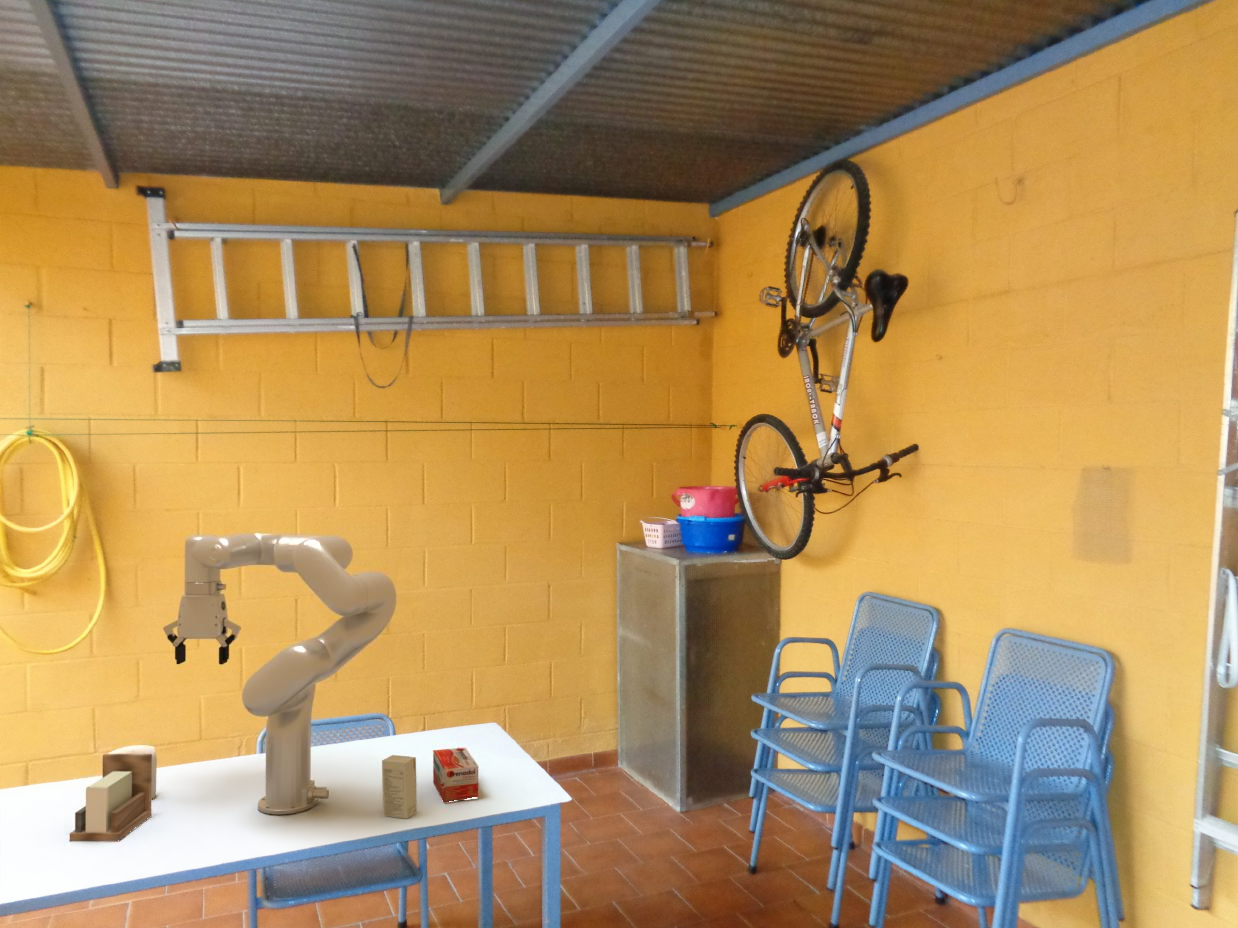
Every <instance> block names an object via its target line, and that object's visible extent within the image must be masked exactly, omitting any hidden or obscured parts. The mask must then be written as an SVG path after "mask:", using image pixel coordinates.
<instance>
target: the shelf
mask: <svg viewBox="0 0 1238 928" xmlns="http://www.w3.org/2000/svg"><path fill="white" fill-rule="evenodd" d="M113 771H120V772H132V798H131V799H130V800H129V801H127V802H126V803H124V804H123V805H121V806H120V807H119V808H117V809H116V810H114V811H113V812H112V813H111V829H110V830H109V831H108V832H106V833H86V805H85V806H83V807H82V808H80V809H79V810H77V811H76V812H74V830H73V831H70V833H69V842H119V841H118V840H120V841H121V840H123V839H124V838H125V837H126V835H127V834H128V833H129V832H130V831H132V830H133V829H134V828H135V827H137V826H138V827H140V826H141V825H142V824H143V823H145V822H146V821H147V820H148V819H147V818H149V817H150V816H151V817H152V799H151V792H152V754H108V753H104V754H102V778H103V777H105V776H107V775H108V774H110V773H111V772H113ZM151 817H150V818H151ZM150 818H149V819H150ZM146 819H147V820H146ZM145 820H146V821H145ZM144 821H145V822H144ZM142 822H143V823H142ZM141 823H142V824H141ZM140 824H141V825H140ZM139 825H140V826H139ZM138 827H137V828H138ZM134 830H135V829H134ZM134 830H133V831H134ZM133 831H132V832H133ZM129 834H130V833H129ZM129 834H128V835H129ZM128 835H127V836H128ZM124 836H125V837H124ZM123 837H124V838H123ZM122 838H123V839H122Z"/></svg>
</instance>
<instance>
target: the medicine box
mask: <svg viewBox="0 0 1238 928" xmlns="http://www.w3.org/2000/svg"><path fill="white" fill-rule="evenodd" d="M432 757H433V759H432V763H433V764H432V768H433V770H432V774H433V775H432V777H433V779H432V782H433V785H434V786H435V789H436V790H437V793H438V795H439V797H440V796H441V797H440V799H441V798H442V799H441V801H442V800H443V801H442V803H443V802H449V801H454V800H459V801H462V800H461V799H467V798H472V797H478V798H479V765H478V763H477V762H476V761H475V758H473V756H472V755H471V753H470V752H469V750H468V749H467V747H455V748H445V749H443V748H442V749H434V750H433V751H432Z"/></svg>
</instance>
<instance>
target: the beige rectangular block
mask: <svg viewBox="0 0 1238 928" xmlns="http://www.w3.org/2000/svg"><path fill="white" fill-rule="evenodd" d="M131 798H132V772H120V771H113V772H111V773H110V774H108V775H107V776H105V777H103V776H102V777H101V778H100V779H98V780H97V781H95V782H94V783H92V784H90V785H89V786H87V787H86V788H85V806H86V833H106V832H108V831H109V830H110V829H111V813H112V812H113V811H114V810H116V809H117V808H119V807H120V806H121V805H123V804H124V803H126V802H127V801H129V800H130V799H131Z"/></svg>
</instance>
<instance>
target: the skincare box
mask: <svg viewBox="0 0 1238 928" xmlns="http://www.w3.org/2000/svg"><path fill="white" fill-rule="evenodd" d="M381 771H382V772H381V775H382V779H381V780H382V816H383V815H384V816H383V817H390V816H391V818H399V819H409V818H410V817H411V816H413V815H414V814H416V813H418V811H417V810H418V809H417V808H418V805H417V804H418V803H417V801H418V799H417V757H416V756H407V755H398V754H397V755H396V754H395V755H394V754H392V755H390V756H388V757H386V758H385V759H382V760H381Z"/></svg>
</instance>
